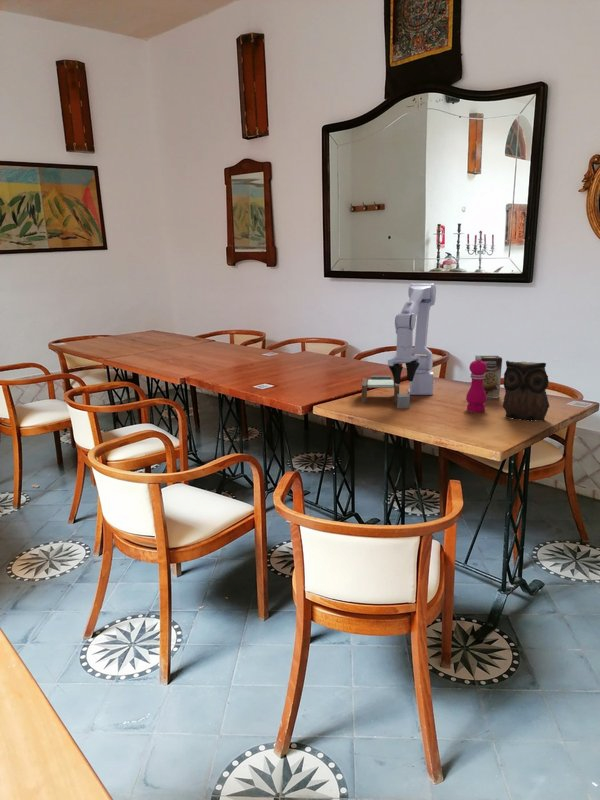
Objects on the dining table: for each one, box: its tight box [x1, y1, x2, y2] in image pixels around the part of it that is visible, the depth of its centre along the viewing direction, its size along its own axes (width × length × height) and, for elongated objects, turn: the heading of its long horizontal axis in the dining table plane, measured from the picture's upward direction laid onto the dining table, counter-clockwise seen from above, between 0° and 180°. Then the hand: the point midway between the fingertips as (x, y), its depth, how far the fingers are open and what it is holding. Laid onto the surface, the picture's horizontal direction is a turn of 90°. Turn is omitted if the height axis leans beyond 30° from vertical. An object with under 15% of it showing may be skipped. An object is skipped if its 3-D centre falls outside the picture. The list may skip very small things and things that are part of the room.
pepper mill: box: [465, 355, 488, 413], centre depth 207 cm, size 7×7×20 cm
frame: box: [361, 377, 400, 404], centre depth 227 cm, size 14×13×7 cm
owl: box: [502, 360, 550, 422], centre depth 197 cm, size 13×13×20 cm
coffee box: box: [474, 355, 503, 399], centre depth 225 cm, size 9×6×16 cm
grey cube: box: [396, 393, 411, 409], centre depth 216 cm, size 4×4×4 cm
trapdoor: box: [367, 375, 394, 389], centre depth 226 cm, size 10×12×2 cm
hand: (403, 382), depth 214 cm, fingers open, 6 cm apart
